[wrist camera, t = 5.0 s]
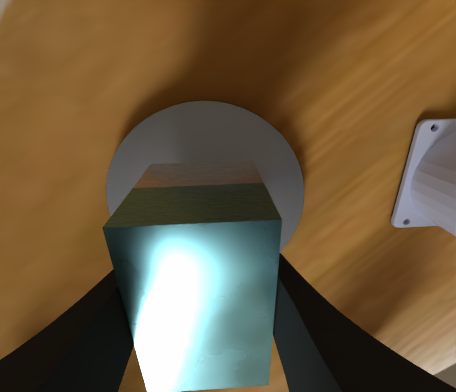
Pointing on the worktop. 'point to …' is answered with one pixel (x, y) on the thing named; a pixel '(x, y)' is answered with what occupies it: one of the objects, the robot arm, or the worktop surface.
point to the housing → (198, 274)
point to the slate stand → (210, 152)
